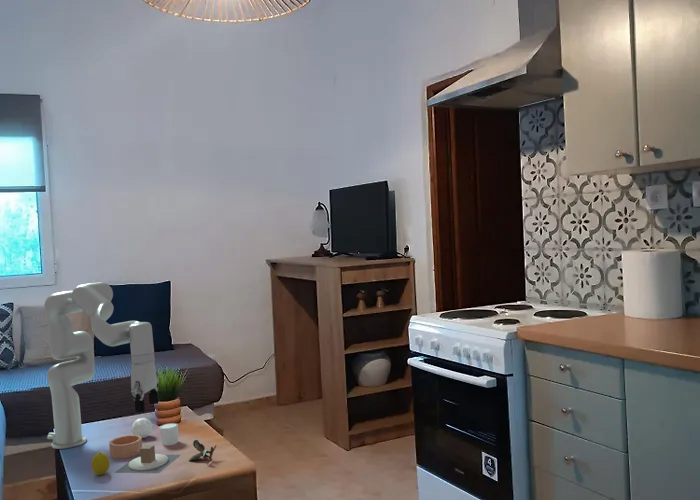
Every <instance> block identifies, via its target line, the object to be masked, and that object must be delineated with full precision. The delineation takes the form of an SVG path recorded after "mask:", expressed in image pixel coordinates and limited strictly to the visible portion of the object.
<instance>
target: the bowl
mask: <svg viewBox="0 0 700 500" xmlns="http://www.w3.org/2000/svg"><path fill="white" fill-rule="evenodd" d="M142 439H143V438H142V437H141V436H139V435H133V434H128V435H121V436H118V437H116V438H113V439H111V440H109V442H108V443H109V444H108V445H109V455H110V456H109V457H111V458H113V459H126V458H132V457H134V456H135V457H136V456H138V455H140V448H141V447H143V440H142Z"/></svg>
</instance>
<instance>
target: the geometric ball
mask: <svg viewBox="0 0 700 500" xmlns="http://www.w3.org/2000/svg"><path fill="white" fill-rule="evenodd" d="M131 425H132V426H131V430H130V431H131V434H132V435H139V436H141V437H142V439H146V438H148V437H149V435H150V434H152V430H153V424H152V422H151V420H150V419H148V418H145V417H142V418H141V417H140V418H137V419H135V420H134V422H133V423H132V424H131Z"/></svg>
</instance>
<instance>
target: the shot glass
mask: <svg viewBox="0 0 700 500" xmlns="http://www.w3.org/2000/svg"><path fill="white" fill-rule="evenodd" d="M158 428H159V435H160V441H161V445H162V446H173V445H176V444H177V443H178V442H179V424H178V423H175V422H173V423H172V422H170V423H165V424H162V425H160V426H159V427H158Z"/></svg>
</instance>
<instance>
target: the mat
mask: <svg viewBox="0 0 700 500" xmlns="http://www.w3.org/2000/svg"><path fill="white" fill-rule="evenodd" d="M165 455H166V456H167V457H168V462H167V463H166V464H165V465H163V466H161V467H158V468H155V469H151V470H145V471H135V470H131V469H129V466H128V464H129V462H130V461H132V460H133V459H135V458H138V457H141V456H140V454H137V455H135V457H134V458H132V459H131V460H130V461H128V462H126V464H124V465H123V466H121V467H119V469H117V470H116V471H114V473H122V474H123V473H130V474H132V473H133V474H160V473H161V472H162V471H163V470H164V469H166V468H167V467H168V466H169V465H171V463H173V462H175V460H176V459H178V458H179V457H180V456H181V454H165Z"/></svg>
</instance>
